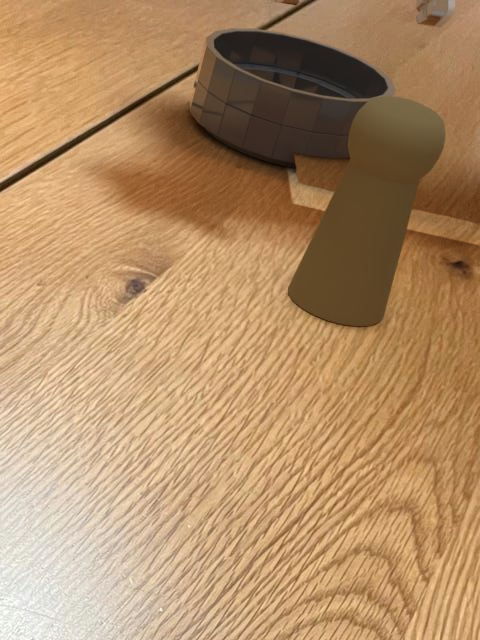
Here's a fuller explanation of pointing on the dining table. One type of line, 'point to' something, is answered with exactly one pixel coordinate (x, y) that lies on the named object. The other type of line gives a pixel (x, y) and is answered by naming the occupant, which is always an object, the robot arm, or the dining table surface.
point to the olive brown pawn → (368, 213)
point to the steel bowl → (281, 94)
